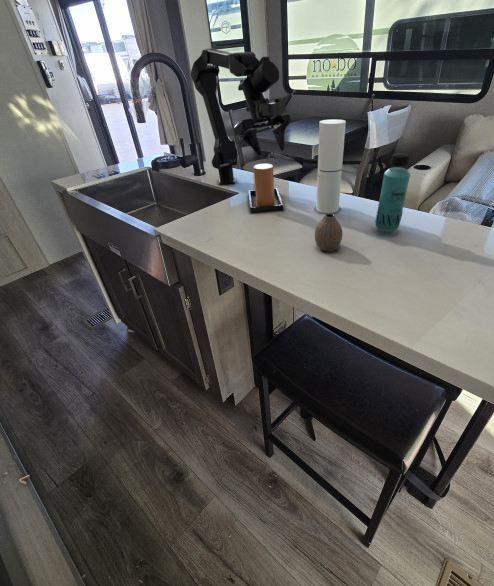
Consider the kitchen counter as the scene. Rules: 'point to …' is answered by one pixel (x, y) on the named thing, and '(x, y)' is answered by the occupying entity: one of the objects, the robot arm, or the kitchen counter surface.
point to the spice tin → (264, 184)
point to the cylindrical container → (330, 164)
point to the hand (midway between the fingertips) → (271, 152)
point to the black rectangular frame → (265, 208)
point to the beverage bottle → (393, 194)
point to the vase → (328, 233)
